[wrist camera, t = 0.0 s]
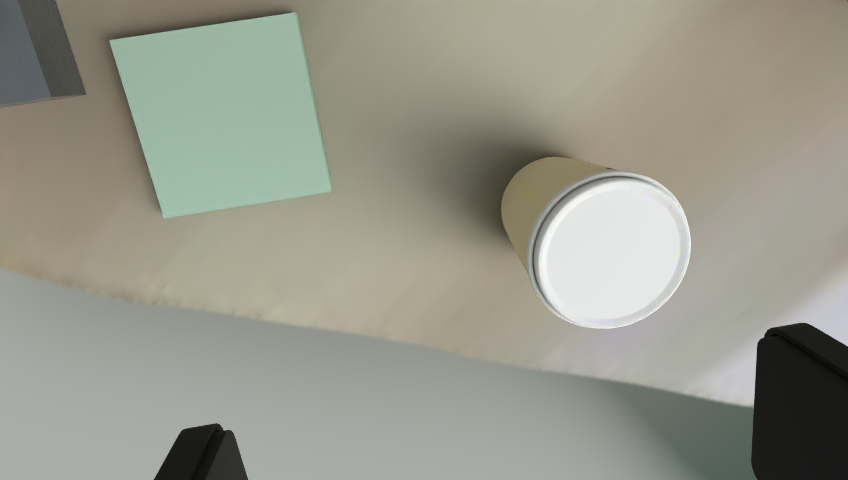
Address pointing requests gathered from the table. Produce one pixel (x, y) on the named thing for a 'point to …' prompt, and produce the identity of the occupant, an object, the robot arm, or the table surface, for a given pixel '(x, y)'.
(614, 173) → the coffee cup
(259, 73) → the green pad
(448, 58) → the table surface
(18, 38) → the hole block
